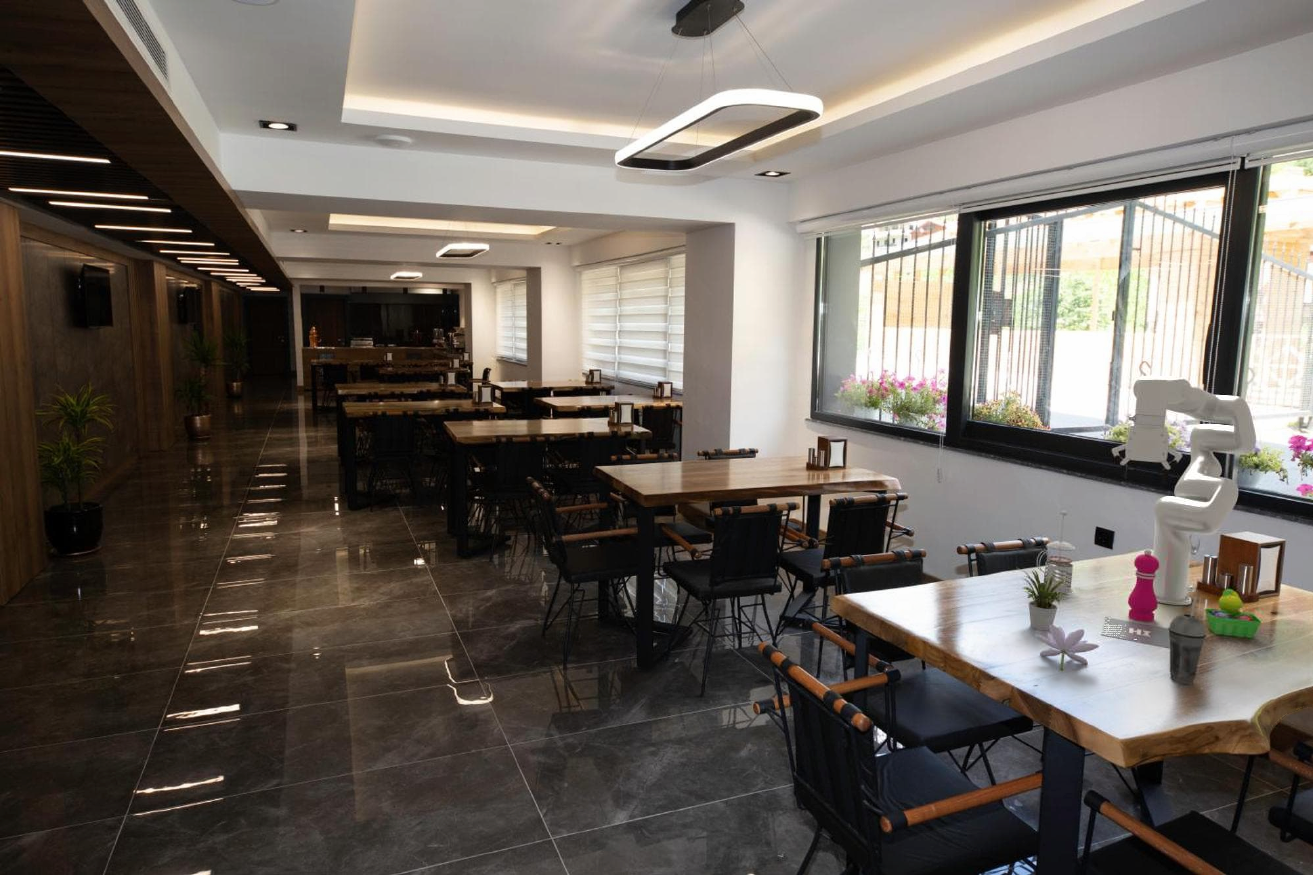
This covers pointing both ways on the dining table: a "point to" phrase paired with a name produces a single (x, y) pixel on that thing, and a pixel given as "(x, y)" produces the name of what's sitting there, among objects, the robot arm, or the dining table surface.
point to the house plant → (1042, 602)
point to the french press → (1059, 565)
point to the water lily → (1066, 644)
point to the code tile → (1139, 632)
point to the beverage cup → (1185, 646)
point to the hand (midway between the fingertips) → (1143, 480)
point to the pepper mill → (1144, 588)
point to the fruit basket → (1232, 617)
